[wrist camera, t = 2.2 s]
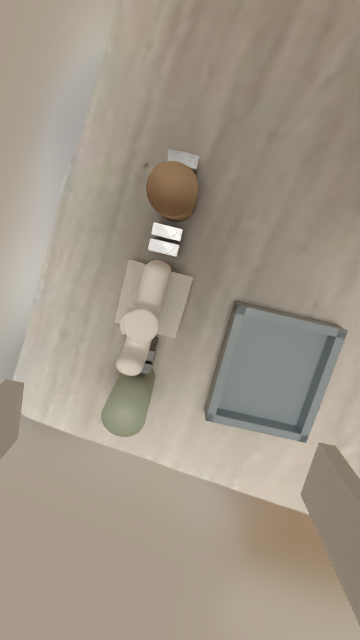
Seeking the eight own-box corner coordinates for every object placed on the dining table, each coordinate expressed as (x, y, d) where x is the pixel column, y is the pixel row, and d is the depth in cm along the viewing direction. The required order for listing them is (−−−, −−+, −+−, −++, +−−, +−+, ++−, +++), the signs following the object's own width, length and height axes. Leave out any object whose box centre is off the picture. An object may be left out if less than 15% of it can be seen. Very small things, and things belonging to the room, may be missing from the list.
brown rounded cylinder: (161, 176, 37) (152, 155, 28) (199, 185, 38) (204, 167, 28) (153, 216, 38) (141, 209, 29) (190, 225, 39) (191, 221, 29)
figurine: (195, 265, 40) (199, 280, 25) (174, 338, 42) (167, 392, 27) (136, 248, 39) (105, 254, 25) (118, 323, 42) (80, 369, 27)
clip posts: (171, 160, 37) (169, 148, 32) (197, 166, 37) (199, 155, 32) (120, 402, 44) (112, 423, 39) (142, 407, 44) (137, 428, 39)
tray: (235, 300, 41) (238, 305, 38) (338, 325, 41) (347, 330, 39) (204, 410, 44) (205, 420, 42) (299, 431, 45) (306, 442, 42)
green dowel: (124, 357, 43) (105, 392, 33) (158, 365, 43) (149, 402, 33) (117, 388, 44) (98, 431, 34) (150, 395, 44) (140, 440, 34)
